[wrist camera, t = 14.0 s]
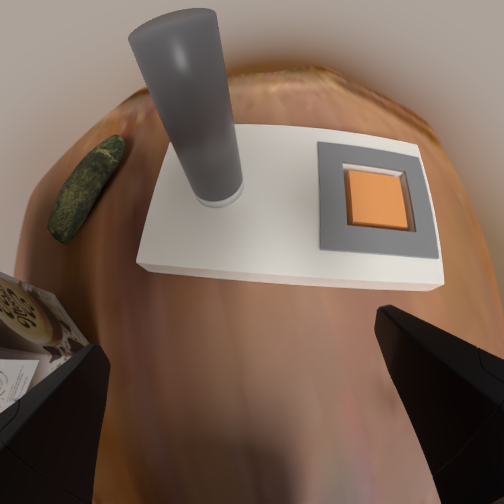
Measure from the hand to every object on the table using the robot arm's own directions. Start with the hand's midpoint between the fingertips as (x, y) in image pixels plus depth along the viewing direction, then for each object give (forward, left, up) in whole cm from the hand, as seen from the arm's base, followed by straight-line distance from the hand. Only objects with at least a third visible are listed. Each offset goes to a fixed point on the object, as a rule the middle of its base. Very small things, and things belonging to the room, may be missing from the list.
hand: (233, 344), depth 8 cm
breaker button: (+14, +4, -12) cm, 19 cm away
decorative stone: (-6, +20, -13) cm, 25 cm away
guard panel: (+9, +8, -13) cm, 18 cm away
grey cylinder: (+4, +12, -10) cm, 16 cm away
